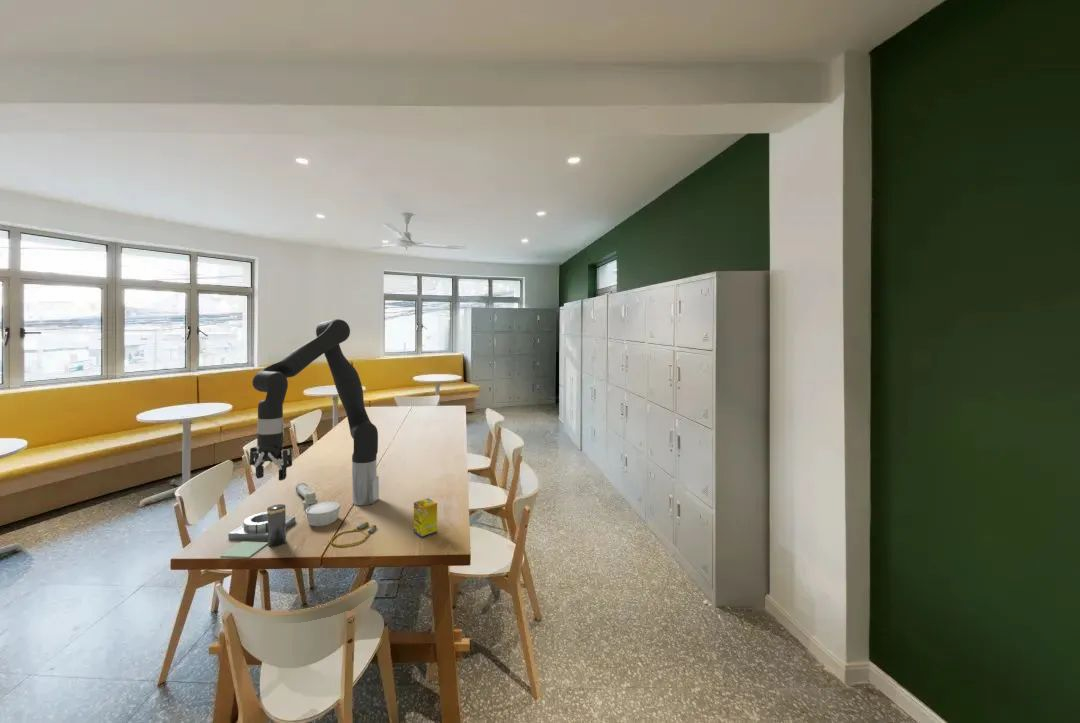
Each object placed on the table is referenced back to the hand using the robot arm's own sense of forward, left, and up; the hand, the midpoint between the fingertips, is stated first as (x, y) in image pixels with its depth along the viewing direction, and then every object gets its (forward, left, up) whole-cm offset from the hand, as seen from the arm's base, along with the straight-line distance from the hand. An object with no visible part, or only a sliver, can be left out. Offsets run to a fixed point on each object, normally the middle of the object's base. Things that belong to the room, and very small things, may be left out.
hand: (271, 478), depth 143 cm
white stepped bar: (+7, -32, -20) cm, 38 cm away
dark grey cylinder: (-5, +4, -20) cm, 21 cm away
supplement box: (-51, -6, -20) cm, 55 cm away
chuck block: (+6, -4, -20) cm, 21 cm away
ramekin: (-11, -13, -20) cm, 26 cm away
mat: (+2, +9, -20) cm, 22 cm away
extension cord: (-28, -2, -21) cm, 34 cm away
